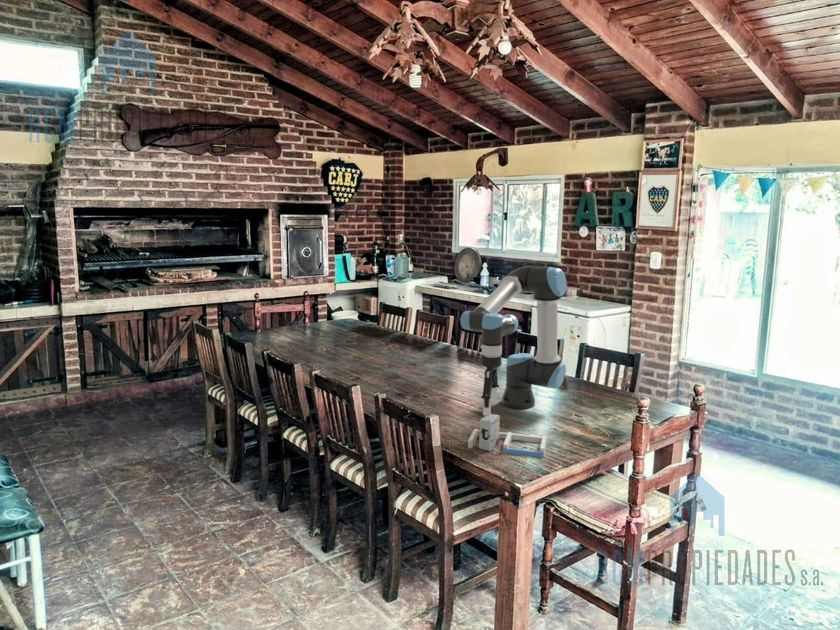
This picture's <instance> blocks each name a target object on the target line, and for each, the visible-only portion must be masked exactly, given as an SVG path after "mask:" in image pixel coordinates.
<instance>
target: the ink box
mask: <svg viewBox="0 0 840 630" xmlns="http://www.w3.org/2000/svg"><path fill="white" fill-rule="evenodd" d="M500 416H501V415H499V414H493V413H491V415H490V416H486V415H484V416H483V417H482V418H481V419H479V430H480V436H478V438H479V439H478V440H479V443H478V449H481V450H485V451H488V452H491V451H492V450H493V449H495V448H496V446H498V445H499V444H500V438H499V432H500V420H501V419H500V418H501V417H500Z"/></svg>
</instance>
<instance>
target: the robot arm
mask: <svg viewBox="0 0 840 630" xmlns="http://www.w3.org/2000/svg"><path fill="white" fill-rule="evenodd" d="M566 290H567V279H566V275H565V273H564V271H563V270H562V269H561V268H557V267H552V266H537V265H535V266H534V265H525V266H521V267H517V268H516V269H514V270H512V271H510V272H509V273H508V274H507V275H505V276H504V277H503V278H502V280H501V282H500V285H498V286H497V287H496V288H495V289H494V290H493V291H492V292H491V293H490V294H489V295H488V296H487V297H486V298H485V299H484V300H483V301H482V302H481V303H480V304H479V305H478V306H477V307H476V308H475V309H474V310H465V311H463V313H462V314H461V316H460V326H461V328H462V329H464V330H466V331H471V332H479V333H480V332H481V345H479V346H480V347H479V348H480V349H481V357H480V358H481V360H480V364H481V366H482V367H486V369H485V370H484V378H483V379H484V380H483V389H482V395H481V396H480V397H481V399H483V402H482V404H483V405H482V415H483V416H490V415H491V414H492V412H491V409H492V408H491V407H492V405H497V395H498V394H497V393H498V392H497V390H498V389H497V388H499V387H500V385H499V382H498V368H499V367H501V365H502V353H503V352H502V351H503V337H506V336H508V335H511V334H513V333H515V332H516V331H517V330H518V328H519V320H518V318H517V317H516V316H515V315H514V314H503V315H502V314H501V313H499V312H500V311H501V310H502V309H503V308H504V307H505V306H506V305H507V304H508V303H509V302H511V300H512V299H513V298H514V297H517V296H519V295H520V294H522V293H528V294H529V293H530V294H533V300H534V301H535V302H536V319H537V321H536V324H537V327H536V328H537V331H536V332H537V334H536V336H537V341H536V342H537V344H536V345H537V354H536V355H535V356H534V355H533V354H532V353H526V352H525V353H514V354H511V355H509V356H508V357H507V358H506V363H505V364H506V368H505V369H506V370H505V388H504V391H503V393H502V397H501V405H503V406H505V407H508V408H512V409H521V410H522V409H530V408H533V407H534V406H535V405H536V398H535V396H534V392H533V388H532V385H533V386H538V387H541V388H542V387H543V388H547V389H557V388H560V386H561V385H562V384H563V381H564V380H565V377H566V372H567V366H566V364H565V363H563V362H562V358H561V356H560V355H559V354H558V302H559V301H560V300H561V299H562V296H564V295H565V293H566Z"/></svg>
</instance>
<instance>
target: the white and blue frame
mask: <svg viewBox="0 0 840 630" xmlns="http://www.w3.org/2000/svg"><path fill="white" fill-rule="evenodd" d="M479 436H480V429H479V428H473V431H472V432H471V434H470V436H469V438H468V440H467V448H468V449H473V447H474V445H475V443H476V441H477V439H478V438H479ZM499 439H502V440H503V439H504V442H503V447H502V453H503V454H510V455H511V454H512V455H519V456H520V455H522V456H532V457H538V458H539V457H540V458H545V453H546V447H547V442H548V436H547V435H531V434H522V433H513V432H512V431H508V432H504V431H499ZM512 441H525V442H530V443H531V442H533V443H540V446H539V451H535V450H527V449H517V448H510V445H511V443H512Z"/></svg>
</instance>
